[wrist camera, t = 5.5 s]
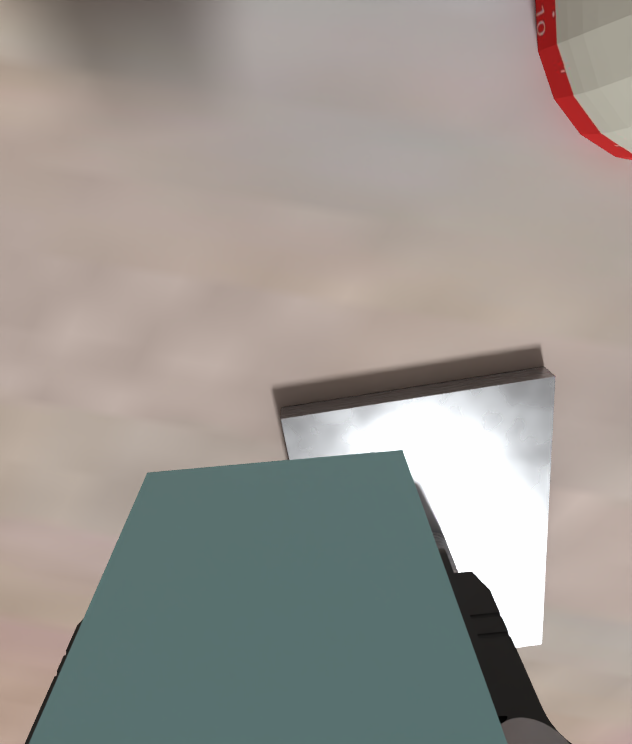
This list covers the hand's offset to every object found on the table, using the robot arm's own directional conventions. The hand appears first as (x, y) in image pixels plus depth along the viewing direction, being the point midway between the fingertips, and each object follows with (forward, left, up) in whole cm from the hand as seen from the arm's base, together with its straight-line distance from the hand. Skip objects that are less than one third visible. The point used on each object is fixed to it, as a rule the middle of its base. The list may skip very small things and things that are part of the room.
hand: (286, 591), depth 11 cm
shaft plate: (+14, +6, -15) cm, 21 cm away
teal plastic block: (0, 0, -1) cm, 1 cm away
